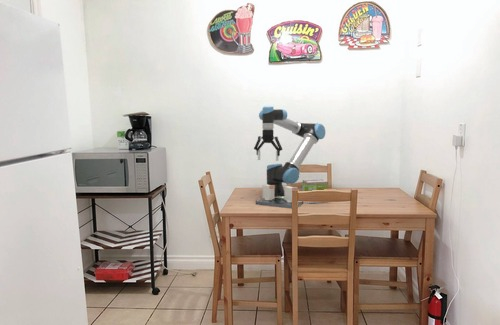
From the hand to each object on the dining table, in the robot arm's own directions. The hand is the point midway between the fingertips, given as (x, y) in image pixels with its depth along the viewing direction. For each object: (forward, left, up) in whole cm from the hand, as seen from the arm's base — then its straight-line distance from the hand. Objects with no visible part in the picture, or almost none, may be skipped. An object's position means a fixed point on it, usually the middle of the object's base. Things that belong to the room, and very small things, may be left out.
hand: (268, 160), depth 241 cm
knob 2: (+4, +18, -27) cm, 32 cm away
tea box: (-12, +30, -29) cm, 43 cm away
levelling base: (+4, +10, -29) cm, 31 cm away
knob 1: (+4, +2, -27) cm, 27 cm away
